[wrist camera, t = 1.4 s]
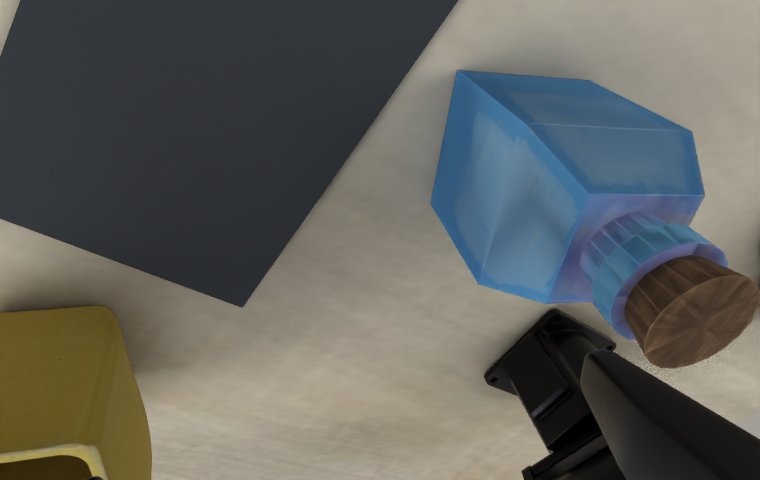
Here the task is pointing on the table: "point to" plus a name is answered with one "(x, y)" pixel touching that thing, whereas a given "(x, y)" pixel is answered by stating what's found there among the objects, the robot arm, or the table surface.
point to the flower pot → (69, 398)
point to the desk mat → (193, 123)
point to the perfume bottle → (587, 211)
